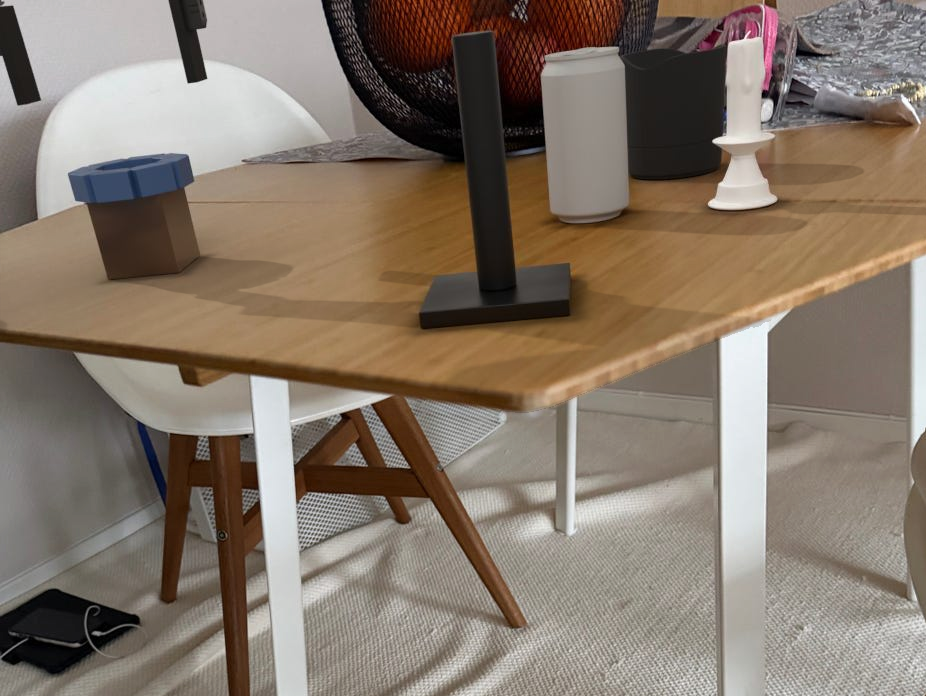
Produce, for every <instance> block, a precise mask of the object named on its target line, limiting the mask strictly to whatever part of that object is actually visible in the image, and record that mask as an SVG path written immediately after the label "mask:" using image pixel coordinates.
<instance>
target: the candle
mask: <svg viewBox="0 0 926 696" xmlns="http://www.w3.org/2000/svg"><path fill="white" fill-rule="evenodd" d="M751 32H752V30H749V31H748V32H747V33H746V34H745V36H744V38H743V39H738V40H733V41H729V42H728V45H727V53H726V73H725V87H726V135H722V137H719V138H716V139H714V140H713V141H712V142H713V143H714V144H715V145H717V146H719V147H720V148H722V150H724V151H725V152H726V153H728V154H730V155H731V156H730V161H729V163H728V167H727V170H726V172H725V175H724V177H723V179H722V181H720V182H718V184H717V189H716V194H715V197H714V198H712V199H710V200H709V201H708V203H707V206H708V207H709V208H711V209H714V210H720V211H742V210H753V209H759V208H764V207H767V206H768V207H769V206H770V205H773V204H774V203H776V202H778V196H776V195H775V194H773V193H771V190H770V185H769V180H768V179H767V178H765V177H764V176H763V174H762V171H761V169H760V166H759V164H758V161H757V157H756V152H758V151H759V150H760V149H761V148H763V147H764V146H766V145H767V144H768V143H770V141H772V140H773V139H774V138H776V134H774V133H771V132H762V91H763V85H764V84H765V83H764V82H765V81H766V65H765V57H764V55H765V53H764V51H765V49H764V47H765V45H764V40H763V38H762V37H761V36H756V37H753V38H748V36H750V35H749V34H750V33H751Z"/></svg>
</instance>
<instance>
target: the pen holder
mask: <svg viewBox="0 0 926 696" xmlns="http://www.w3.org/2000/svg"><path fill="white" fill-rule="evenodd" d="M727 50H728V45H727V44H726V43H725V44H719V45H716V46H714V47H713V48H711V49H705V50H699V51H693V52H685V51H682V50H678V49H675V48H668V47H667V48H666V47H665V48H652V49H645V50H638V51H634V52H629V53H625V54H622V55H620V56H619V55H618V56H619V57H620V59H621V60H622V62H623V63H624V65H625V89H626V119H627V149H628V174H629V175H630V177H632V178H635V179H639V180H671V179H682V178H689V177H695V176H701V175H705V174H708V173H711V172H714V171H716V170H718V169H719V166H720V165H721V163H722V158H723V157H722V154H723V149H722V148H720V147H719V146H717V145H715V144H714V143H713V142H712V141H713V140H714V139H716V138H719V137H722V136H724V122H725V121H724V120H725V119H724V118H725V98H726V97H725V96H726V94H725V93H726V74H727Z"/></svg>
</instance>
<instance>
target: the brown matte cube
mask: <svg viewBox="0 0 926 696" xmlns="http://www.w3.org/2000/svg"><path fill="white" fill-rule="evenodd" d="M185 188H186V187H184V188H180V189H177V190H175V191H171V192H166V193H162V194H157V195H153V196H148V197H144V198H143V197H137V198H135V199H132V200H122V201H113V202H104V203H97V202H95V203H86V207H87V210H88V213H89V217H90V221H91V224H92V228H93V231H94V235H95V238H96V241H97V245H98V249H99V252H100V256H101V259H102V263H103V267H104V270H105V274H106V277H107V280H108V281H109V280H120V279H130V278H139V277H140V278H141V277H149V276H150V277H151V276H160V275H171V274H178V273H180V272H182V271H183V270H184V269H186V268H187V267H188V266H189V265H191V263H193V262H194V261H195V260H197V259H198V258H199V257H200V256H201V253H200V248H199V243H198V240H197V235H196V231H195V227H194V222H193V219H192V215H191V211H190V210H191V209H190V206H189V203H188V201H189V200H188V198H187V193H186V189H185Z"/></svg>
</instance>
